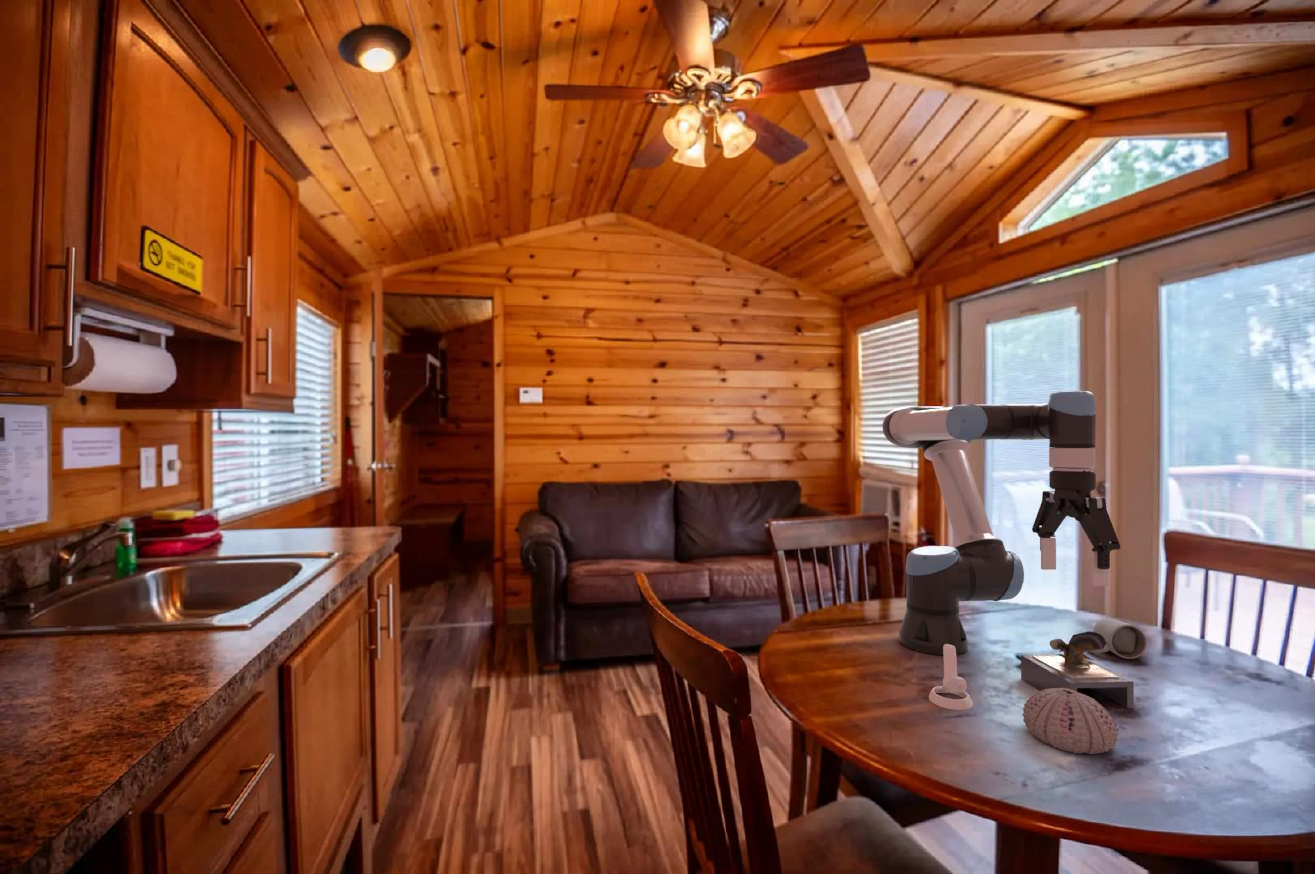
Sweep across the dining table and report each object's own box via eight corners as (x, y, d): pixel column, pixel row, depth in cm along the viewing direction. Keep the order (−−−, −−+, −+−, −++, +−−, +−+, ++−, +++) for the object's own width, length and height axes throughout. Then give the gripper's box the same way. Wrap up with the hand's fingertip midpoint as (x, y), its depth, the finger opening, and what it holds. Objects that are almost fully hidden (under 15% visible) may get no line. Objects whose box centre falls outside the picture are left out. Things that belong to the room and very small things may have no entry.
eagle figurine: (1098, 671, 111) (1117, 652, 115) (1071, 635, 113) (1092, 618, 118) (1062, 680, 116) (1082, 662, 121) (1037, 645, 119) (1058, 629, 124)
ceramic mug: (1123, 646, 141) (1122, 614, 141) (1148, 659, 133) (1147, 625, 133) (1076, 646, 143) (1075, 614, 143) (1097, 658, 134) (1096, 625, 134)
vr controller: (956, 658, 121) (974, 649, 115) (962, 720, 114) (982, 714, 109) (920, 650, 121) (936, 640, 116) (924, 712, 115) (941, 705, 109)
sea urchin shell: (1140, 753, 94) (1140, 703, 94) (1076, 767, 90) (1075, 715, 90) (1062, 716, 107) (1062, 671, 107) (1003, 726, 103) (1002, 680, 103)
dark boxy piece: (1070, 709, 109) (1070, 681, 109) (1021, 678, 123) (1020, 653, 123) (1133, 708, 109) (1133, 679, 109) (1077, 677, 123) (1076, 652, 123)
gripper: (1144, 473, 104) (1145, 593, 104) (1046, 466, 129) (1047, 563, 129) (1103, 473, 104) (1104, 594, 104) (1013, 466, 129) (1013, 563, 129)
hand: (1072, 577), depth 117 cm, fingers open, 13 cm apart
